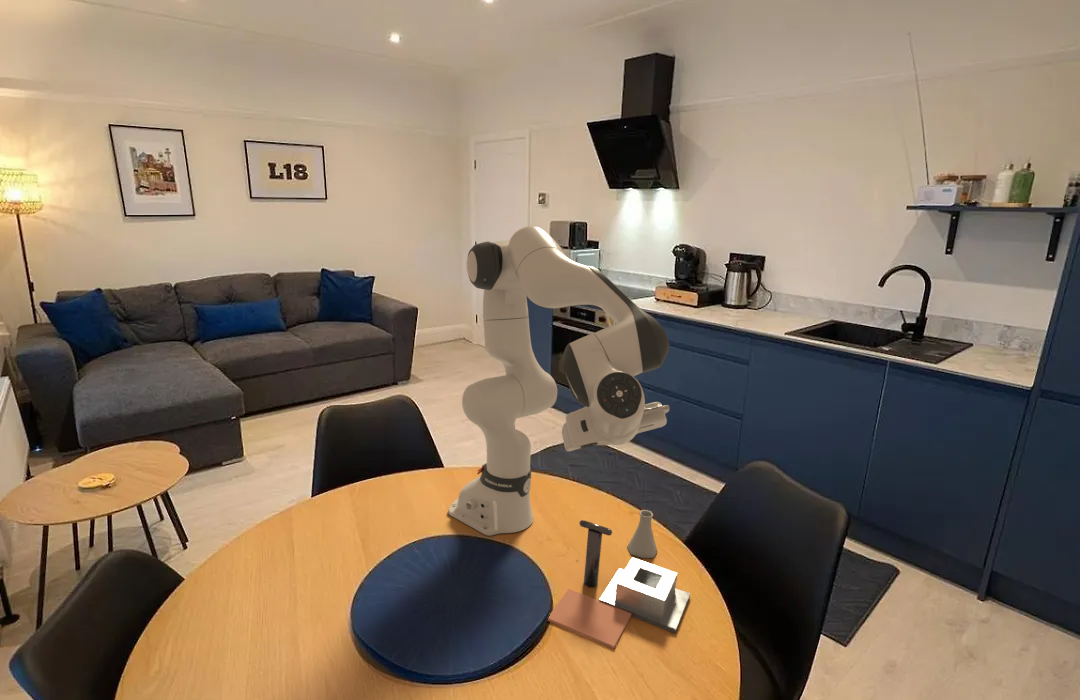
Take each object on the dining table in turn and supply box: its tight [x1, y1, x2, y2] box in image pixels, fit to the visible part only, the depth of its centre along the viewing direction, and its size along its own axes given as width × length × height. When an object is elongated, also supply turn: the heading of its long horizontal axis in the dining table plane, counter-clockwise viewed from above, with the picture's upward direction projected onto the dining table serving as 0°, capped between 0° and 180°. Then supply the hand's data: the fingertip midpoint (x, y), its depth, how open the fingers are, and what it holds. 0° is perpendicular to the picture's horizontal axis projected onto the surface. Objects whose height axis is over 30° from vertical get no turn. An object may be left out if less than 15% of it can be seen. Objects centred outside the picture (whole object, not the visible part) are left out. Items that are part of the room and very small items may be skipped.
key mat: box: [547, 588, 632, 650], centre depth 109 cm, size 14×10×1 cm
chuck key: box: [579, 519, 613, 589], centre depth 118 cm, size 7×3×14 cm, turn 62°
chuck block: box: [598, 556, 691, 634], centre depth 115 cm, size 16×12×6 cm
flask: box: [627, 509, 658, 559], centre depth 131 cm, size 7×7×10 cm
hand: (612, 436), depth 112 cm, fingers open, 8 cm apart
